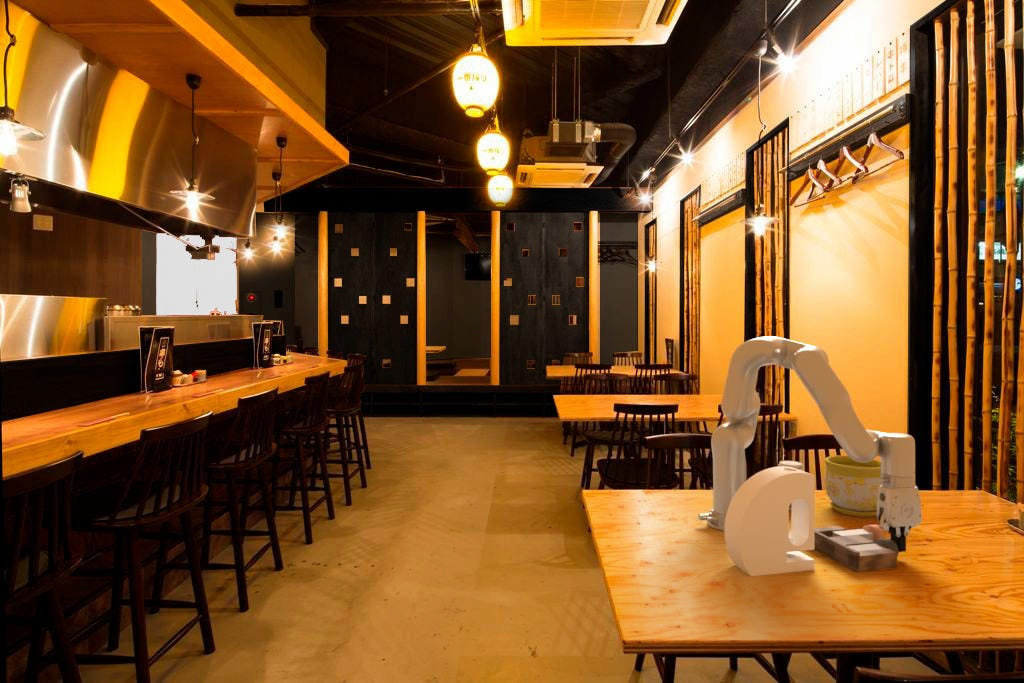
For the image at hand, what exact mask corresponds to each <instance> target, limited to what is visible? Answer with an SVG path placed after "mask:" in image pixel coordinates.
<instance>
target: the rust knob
mask: <svg viewBox="0 0 1024 683" xmlns="http://www.w3.org/2000/svg"><path fill="white" fill-rule="evenodd" d="M884 531H885V530H883V529H881V528H879V524H866V525H863V526H862V528H857V529H848V530H847V529H846V530H845V531H833V532H832V537H837V536H848V535H860V536H862V537H864V538H867V539H869V540H871V541H873V542H875V541H876V540H880V539H886V538H885V537H886V536H885V532H884Z"/></svg>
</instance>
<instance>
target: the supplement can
mask: <svg viewBox="0 0 1024 683" xmlns="http://www.w3.org/2000/svg"><path fill="white" fill-rule="evenodd" d="M781 466H784V467H792V468H796V469H799V470H802V471H804V472H805V467H804V464H803V463H802V462H800V461H796V460H780V461H779V463H778V464H777V466H776V467H781ZM789 511H791V504H790V506H789Z"/></svg>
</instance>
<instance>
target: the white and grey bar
mask: <svg viewBox="0 0 1024 683" xmlns="http://www.w3.org/2000/svg"><path fill="white" fill-rule="evenodd" d="M848 547H850V548H852V549H854V550H856V551H865V550H876V549H886V548H889V549H891V550H893V551H895V552H897V557H898V556H899V553H900V552H899V550H898V547H897V545H896V543H895V542H894V541H893V540H891V538H884V539H880V540H876V541H875V542H874V544H863V545H853V546H848Z"/></svg>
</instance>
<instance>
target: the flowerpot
mask: <svg viewBox="0 0 1024 683" xmlns="http://www.w3.org/2000/svg"><path fill="white" fill-rule="evenodd" d="M824 463H825V464H826V466H825V475H824V488H825V492H826V495H827V496H828V498H829V500H830V501H831V502H830V506H831V507H832V508H833V509H834V510H835V511H836V512H839V513H840V514H844V515H847V516H853V517H859V518H860V517H861V518H862V517H863V518H864V517H865V518H867V517H869V518H870V517H875V516H877V499H878V492H879V487H880V485H881V483H880V481H879V479H880V478H881V459H880V460H879V459H876V458H874V459H873V460H872V461H870V462H865V463H861V462H857V461H854V460H853V459H851V458H850V457H849V456H848V455H830V456H827V457H825V458H824Z"/></svg>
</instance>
